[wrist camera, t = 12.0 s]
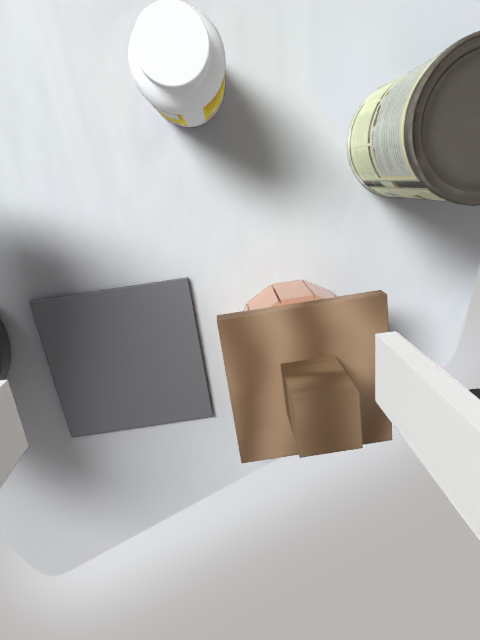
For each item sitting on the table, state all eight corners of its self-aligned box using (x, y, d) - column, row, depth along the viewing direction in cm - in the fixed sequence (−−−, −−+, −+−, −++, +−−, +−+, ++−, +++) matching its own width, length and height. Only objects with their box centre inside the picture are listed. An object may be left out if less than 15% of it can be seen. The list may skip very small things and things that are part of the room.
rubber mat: (73, 434, 48) (71, 437, 48) (32, 300, 43) (29, 302, 42) (212, 413, 48) (212, 416, 48) (187, 277, 43) (187, 278, 43)
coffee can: (442, 62, 38) (564, -1, 25) (460, 176, 41) (576, 175, 28) (333, 102, 39) (394, 61, 25) (359, 211, 42) (425, 227, 29)
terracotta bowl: (244, 392, 48) (248, 421, 42) (229, 290, 44) (231, 307, 38) (350, 377, 48) (368, 403, 42) (343, 273, 44) (362, 287, 38)
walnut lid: (240, 453, 43) (246, 517, 35) (217, 315, 38) (216, 351, 30) (386, 431, 43) (425, 489, 35) (380, 290, 38) (424, 319, 30)
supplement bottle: (215, 37, 37) (214, -34, 24) (231, 119, 39) (237, 92, 27) (140, 53, 37) (102, -10, 25) (159, 134, 39) (133, 114, 27)
